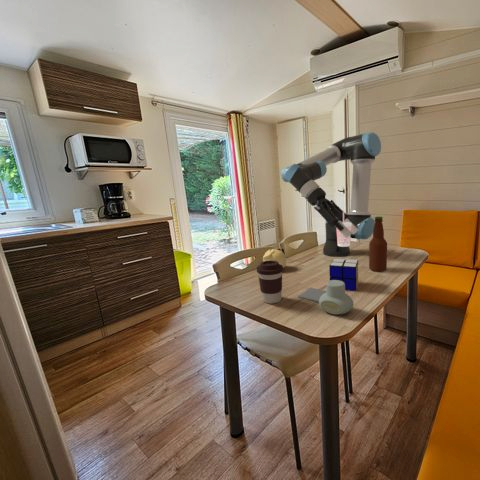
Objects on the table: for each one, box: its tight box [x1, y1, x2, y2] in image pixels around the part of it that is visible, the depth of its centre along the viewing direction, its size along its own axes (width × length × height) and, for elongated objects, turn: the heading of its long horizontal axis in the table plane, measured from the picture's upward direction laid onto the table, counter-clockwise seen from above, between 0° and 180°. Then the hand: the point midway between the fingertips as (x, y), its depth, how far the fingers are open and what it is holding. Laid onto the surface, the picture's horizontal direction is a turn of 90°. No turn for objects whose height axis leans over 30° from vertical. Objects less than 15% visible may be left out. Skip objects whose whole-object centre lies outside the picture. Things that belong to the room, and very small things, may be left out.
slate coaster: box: [297, 287, 326, 304], centre depth 102 cm, size 10×10×1 cm
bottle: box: [368, 216, 388, 273], centre depth 121 cm, size 7×7×25 cm
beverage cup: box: [336, 210, 352, 247], centre depth 104 cm, size 6×6×14 cm
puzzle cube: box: [328, 258, 359, 292], centre depth 108 cm, size 10×10×10 cm
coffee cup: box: [256, 260, 284, 305], centre depth 100 cm, size 10×10×15 cm
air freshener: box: [318, 279, 354, 315], centre depth 88 cm, size 11×8×10 cm
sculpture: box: [262, 248, 287, 269], centre depth 137 cm, size 12×12×11 cm
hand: (352, 233), depth 102 cm, fingers closed on beverage cup, 6 cm apart
